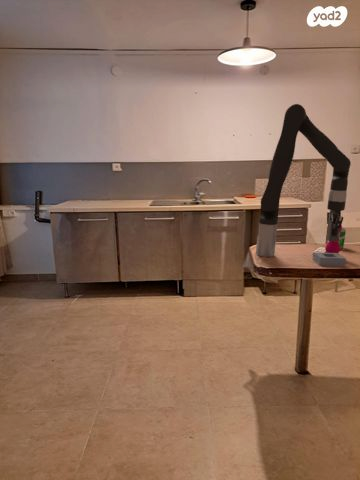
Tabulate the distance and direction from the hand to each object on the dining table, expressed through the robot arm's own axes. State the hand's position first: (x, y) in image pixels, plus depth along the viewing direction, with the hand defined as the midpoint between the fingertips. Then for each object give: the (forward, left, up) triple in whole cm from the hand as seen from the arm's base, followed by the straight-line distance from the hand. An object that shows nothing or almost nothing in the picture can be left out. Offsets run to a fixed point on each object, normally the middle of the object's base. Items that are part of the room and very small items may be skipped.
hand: (332, 234), depth 153 cm
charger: (0, 0, -3) cm, 3 cm away
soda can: (+16, +31, -15) cm, 37 cm away
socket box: (0, 0, -15) cm, 15 cm away
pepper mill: (+6, +11, -15) cm, 19 cm away
